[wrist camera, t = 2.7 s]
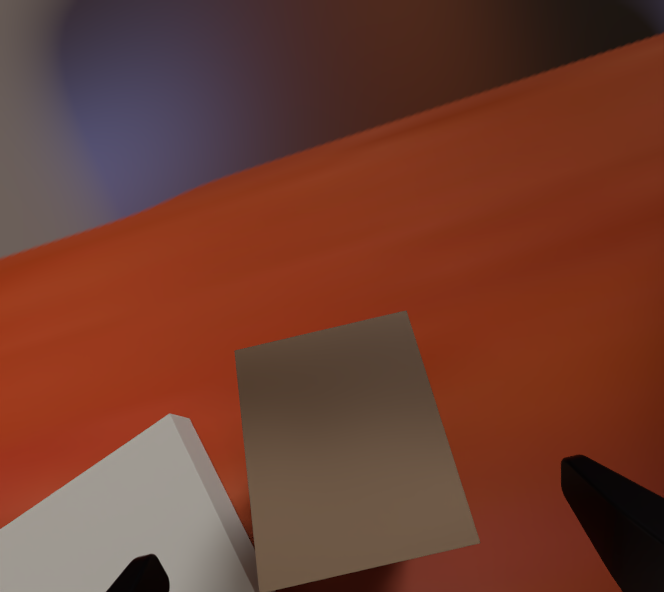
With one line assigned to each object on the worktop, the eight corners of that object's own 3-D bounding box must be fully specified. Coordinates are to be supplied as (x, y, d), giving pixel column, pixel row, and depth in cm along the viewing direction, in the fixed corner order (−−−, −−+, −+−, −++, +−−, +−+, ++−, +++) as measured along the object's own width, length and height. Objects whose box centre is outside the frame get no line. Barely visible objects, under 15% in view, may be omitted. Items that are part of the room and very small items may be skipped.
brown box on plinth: (438, 509, 16) (521, 566, 7) (311, 538, 16) (232, 633, 7) (399, 373, 19) (423, 287, 10) (289, 399, 19) (209, 337, 10)
